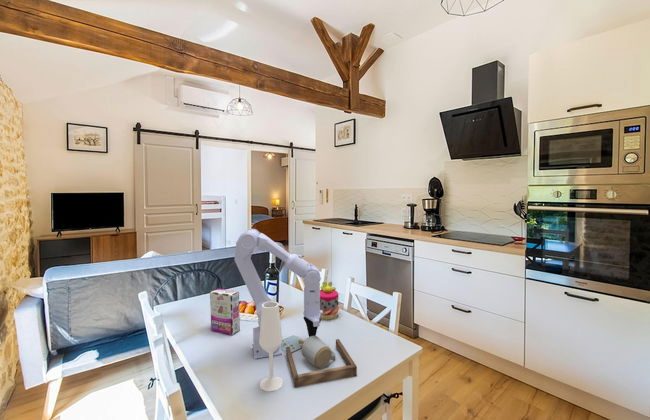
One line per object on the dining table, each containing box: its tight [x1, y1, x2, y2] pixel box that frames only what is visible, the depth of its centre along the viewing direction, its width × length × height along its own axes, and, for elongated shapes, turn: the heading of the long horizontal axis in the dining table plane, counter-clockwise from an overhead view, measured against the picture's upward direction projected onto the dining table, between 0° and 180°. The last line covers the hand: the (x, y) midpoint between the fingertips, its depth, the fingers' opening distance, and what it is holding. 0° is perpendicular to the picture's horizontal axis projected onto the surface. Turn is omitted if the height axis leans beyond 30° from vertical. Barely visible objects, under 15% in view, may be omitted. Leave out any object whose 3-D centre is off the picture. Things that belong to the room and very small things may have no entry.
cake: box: [320, 281, 340, 321], centre depth 131 cm, size 10×11×15 cm
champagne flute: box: [259, 301, 284, 392], centre depth 84 cm, size 7×7×24 cm
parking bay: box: [285, 338, 358, 388], centre depth 94 cm, size 19×17×3 cm
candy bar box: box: [209, 288, 241, 336], centre depth 117 cm, size 11×5×16 cm, turn 68°
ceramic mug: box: [301, 335, 336, 369], centre depth 96 cm, size 11×8×8 cm
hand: (312, 337), depth 104 cm, fingers closed
